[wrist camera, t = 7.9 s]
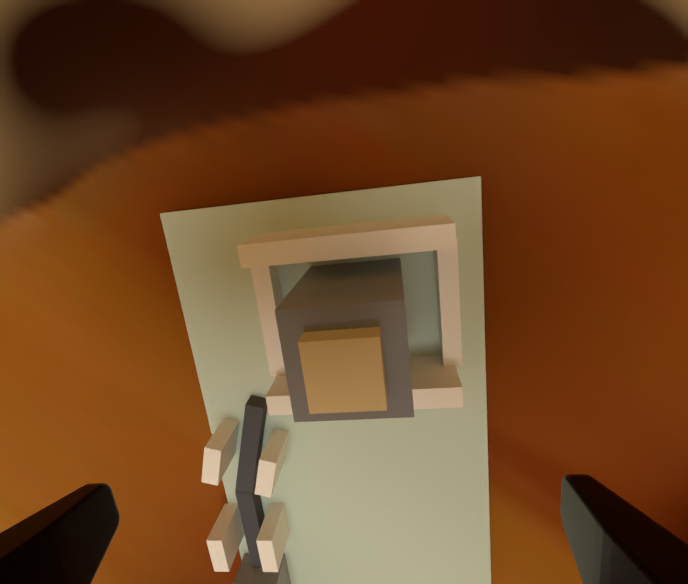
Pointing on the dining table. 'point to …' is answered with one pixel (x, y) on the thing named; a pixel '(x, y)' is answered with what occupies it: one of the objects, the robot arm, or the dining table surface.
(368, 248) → the holder
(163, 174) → the dining table surface
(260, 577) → the clamp and clips
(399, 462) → the board
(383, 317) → the block
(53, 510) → the robot arm
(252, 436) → the cable
